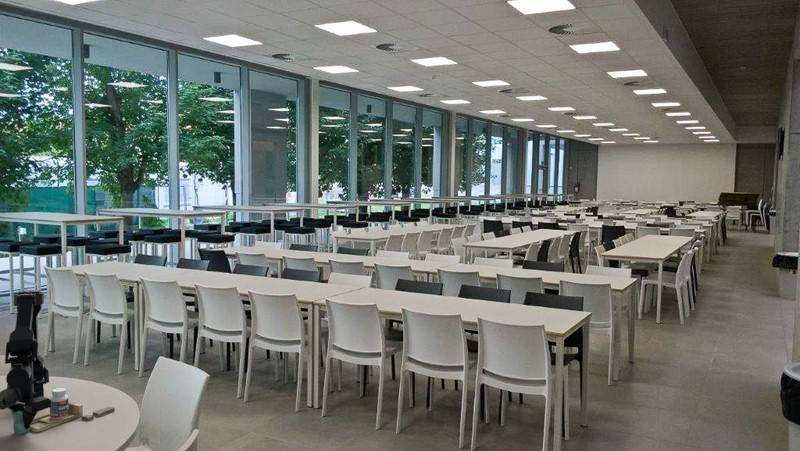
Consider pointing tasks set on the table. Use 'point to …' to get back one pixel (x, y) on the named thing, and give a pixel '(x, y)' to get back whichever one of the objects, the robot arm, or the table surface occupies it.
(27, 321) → the robot arm
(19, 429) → the wooden frame with block
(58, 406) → the pill bottle
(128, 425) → the table surface
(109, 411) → the broken walnut strip
